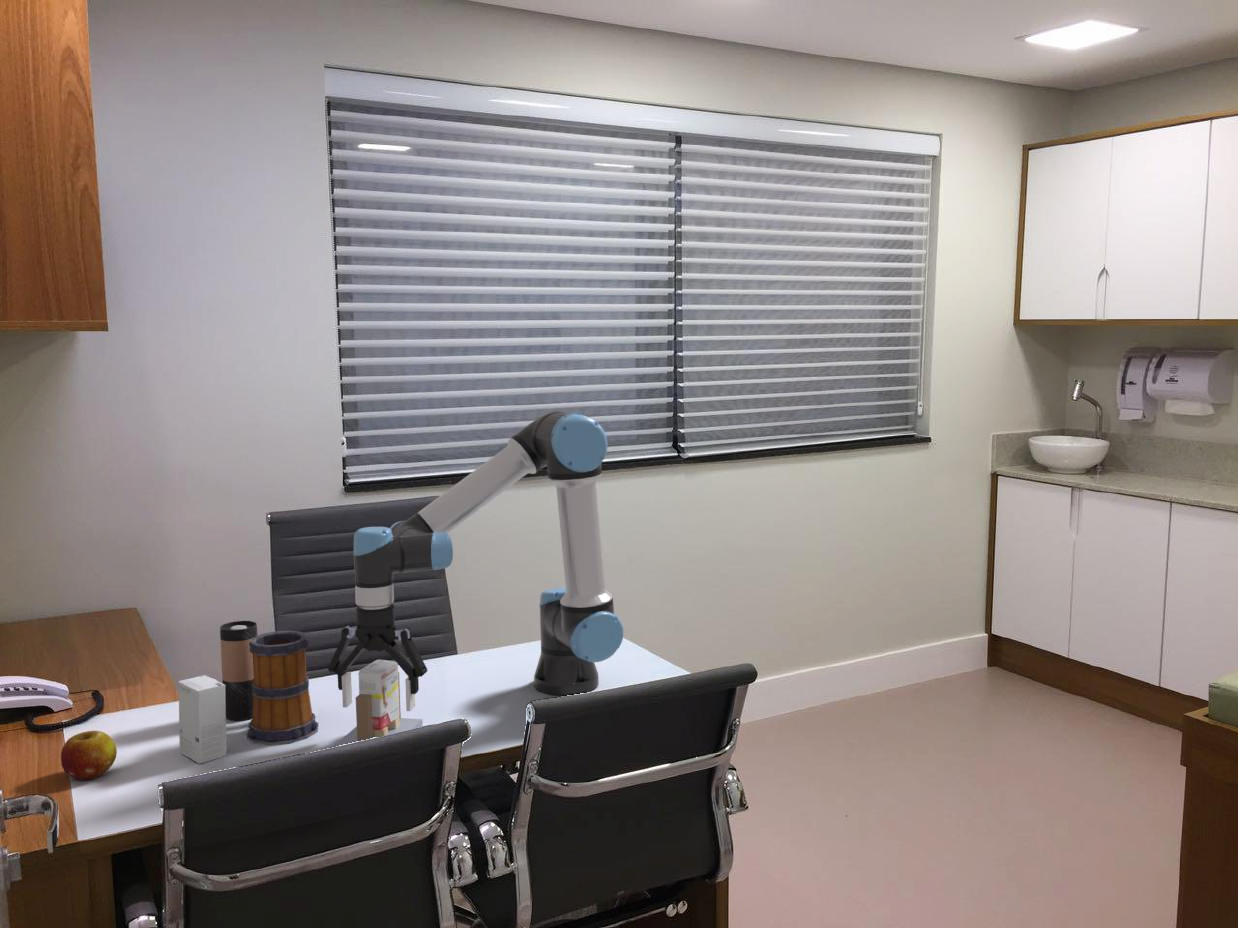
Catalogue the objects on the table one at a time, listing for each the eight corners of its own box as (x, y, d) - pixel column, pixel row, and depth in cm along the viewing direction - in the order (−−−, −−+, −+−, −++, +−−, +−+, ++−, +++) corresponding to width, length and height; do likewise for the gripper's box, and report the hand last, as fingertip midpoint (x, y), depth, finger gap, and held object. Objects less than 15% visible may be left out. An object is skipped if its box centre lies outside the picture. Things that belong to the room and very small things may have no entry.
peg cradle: (422, 725, 214) (420, 673, 213) (392, 756, 198) (390, 699, 197) (368, 722, 216) (366, 670, 215) (334, 752, 201) (332, 696, 199)
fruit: (50, 780, 189) (46, 739, 188) (90, 761, 197) (88, 722, 196) (88, 788, 185) (85, 746, 184) (128, 769, 194) (126, 728, 193)
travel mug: (269, 710, 224) (264, 622, 221) (245, 723, 216) (241, 631, 214) (240, 707, 226) (235, 619, 224) (216, 719, 219) (211, 628, 217)
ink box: (381, 731, 202) (379, 673, 201) (358, 728, 203) (356, 671, 202) (401, 715, 210) (399, 660, 209) (379, 713, 212) (377, 658, 210)
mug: (270, 710, 224) (265, 621, 222) (335, 710, 223) (331, 621, 221) (234, 745, 205) (229, 648, 202) (305, 745, 204) (301, 648, 202)
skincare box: (179, 754, 200) (174, 680, 199) (208, 744, 205) (204, 673, 203) (200, 765, 195) (196, 690, 193) (230, 755, 200) (225, 681, 198)
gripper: (441, 602, 205) (444, 703, 208) (325, 597, 210) (329, 697, 212) (427, 611, 198) (430, 717, 201) (308, 607, 202) (313, 709, 205)
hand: (379, 707), depth 207 cm, fingers open, 13 cm apart
